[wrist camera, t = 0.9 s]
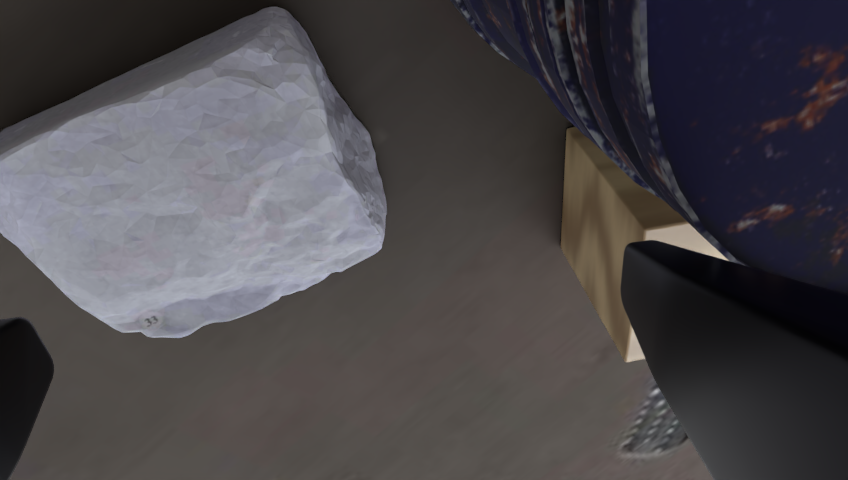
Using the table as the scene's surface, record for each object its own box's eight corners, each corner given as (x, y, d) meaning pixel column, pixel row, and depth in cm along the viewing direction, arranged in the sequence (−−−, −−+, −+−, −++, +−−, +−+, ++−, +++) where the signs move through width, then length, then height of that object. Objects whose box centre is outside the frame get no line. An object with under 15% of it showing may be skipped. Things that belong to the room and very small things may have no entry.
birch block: (565, 127, 25) (644, 229, 19) (897, 73, 26) (1064, 155, 20) (559, 248, 28) (624, 363, 23) (850, 196, 29) (981, 294, 24)
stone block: (400, 177, 27) (280, -37, 19) (422, 263, 23) (289, 47, 16) (157, 279, 28) (-41, 118, 21) (148, 372, 25) (-90, 221, 18)
